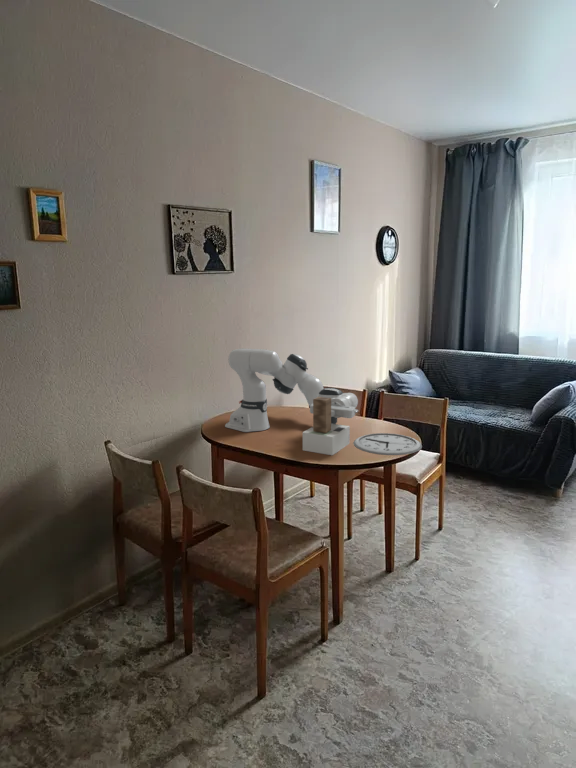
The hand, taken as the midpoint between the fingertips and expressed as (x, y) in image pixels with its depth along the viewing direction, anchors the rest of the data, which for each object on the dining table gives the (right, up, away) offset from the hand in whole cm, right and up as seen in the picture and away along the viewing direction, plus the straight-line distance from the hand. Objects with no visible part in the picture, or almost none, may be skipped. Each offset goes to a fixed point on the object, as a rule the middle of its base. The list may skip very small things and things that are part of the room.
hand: (324, 414), depth 228 cm
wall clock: (+28, -14, +8) cm, 32 cm away
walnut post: (-1, -7, -1) cm, 7 cm away
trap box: (+1, -14, +5) cm, 15 cm away
